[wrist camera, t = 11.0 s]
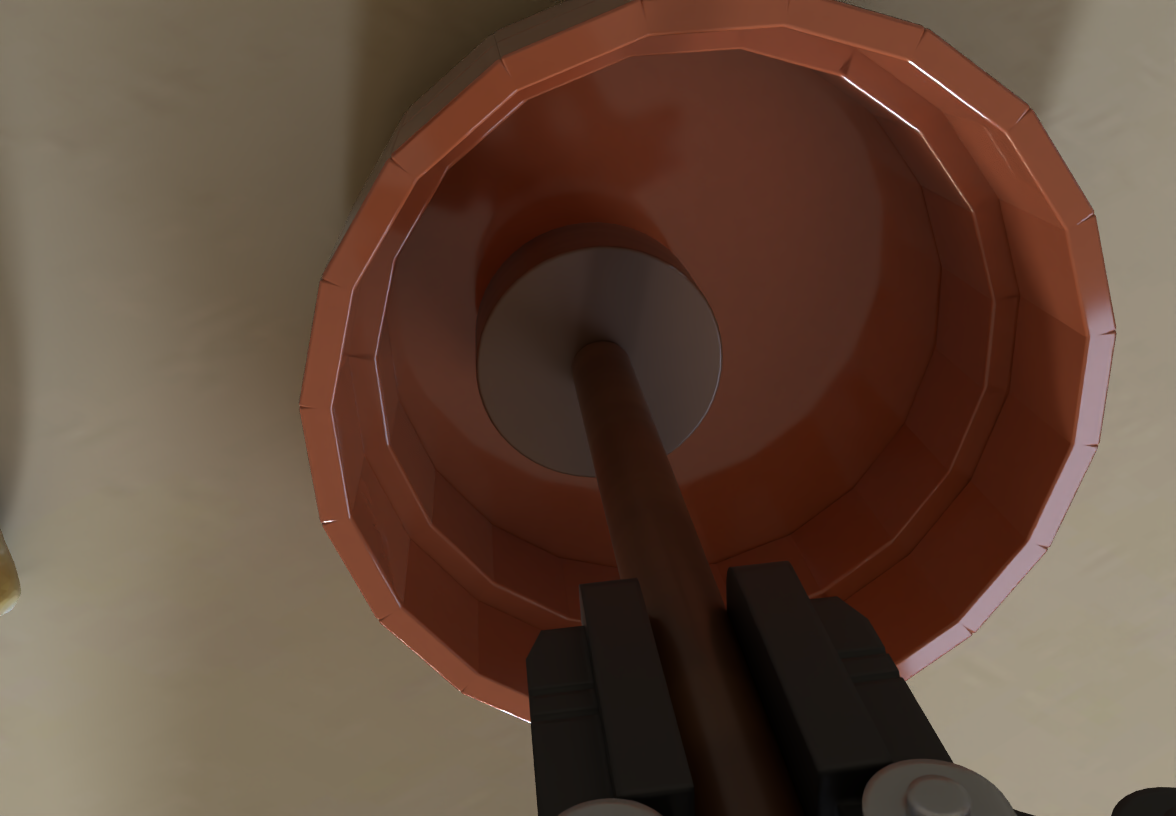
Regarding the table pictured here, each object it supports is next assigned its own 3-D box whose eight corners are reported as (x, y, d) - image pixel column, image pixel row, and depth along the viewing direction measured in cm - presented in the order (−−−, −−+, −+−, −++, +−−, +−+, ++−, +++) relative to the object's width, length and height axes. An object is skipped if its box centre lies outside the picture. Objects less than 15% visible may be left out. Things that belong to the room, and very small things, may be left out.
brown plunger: (487, 449, 24) (516, 1239, 9) (462, 232, 22) (448, 807, 7) (706, 426, 24) (1062, 1154, 10) (701, 211, 22) (1144, 720, 8)
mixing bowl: (388, 622, 28) (368, 787, 22) (288, 4, 22) (227, 25, 16) (948, 561, 29) (1060, 705, 23) (1005, -44, 23) (1175, -40, 17)
